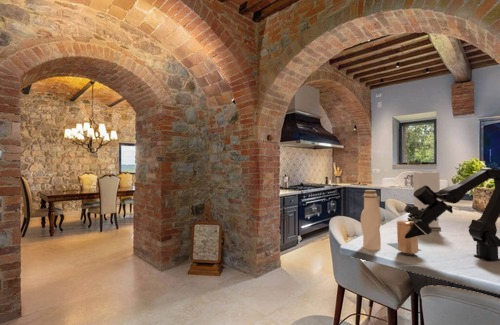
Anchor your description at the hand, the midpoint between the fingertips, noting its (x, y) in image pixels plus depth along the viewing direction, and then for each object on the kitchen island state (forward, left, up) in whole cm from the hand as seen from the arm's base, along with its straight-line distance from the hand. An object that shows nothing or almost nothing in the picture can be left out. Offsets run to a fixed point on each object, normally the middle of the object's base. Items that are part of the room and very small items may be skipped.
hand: (403, 235), depth 116 cm
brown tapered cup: (-1, -1, -7) cm, 7 cm away
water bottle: (+10, +9, -9) cm, 16 cm away
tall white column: (+42, -44, -9) cm, 61 cm away
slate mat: (+9, -6, -8) cm, 14 cm away
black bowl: (-1, -1, -8) cm, 9 cm away
